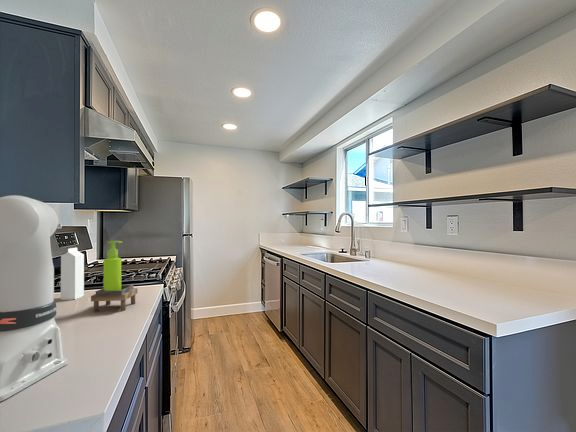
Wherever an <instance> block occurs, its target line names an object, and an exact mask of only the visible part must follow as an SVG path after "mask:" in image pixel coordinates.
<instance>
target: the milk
mask: <svg viewBox="0 0 576 432" xmlns="http://www.w3.org/2000/svg"><path fill="white" fill-rule="evenodd" d="M84 290H85V254H84V253H82V252H80V251H79V250H78V247H70V248H68V249H67V252H66V253H64V254H63V255H60V300H61V301H72V300H73V299H75V300H77V298H78V299H80V298H83V297H84V296H85V291H84ZM82 296H83V297H82Z"/></svg>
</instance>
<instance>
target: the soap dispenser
mask: <svg viewBox="0 0 576 432" xmlns="http://www.w3.org/2000/svg"><path fill="white" fill-rule="evenodd" d="M107 243H108V244H109V249H107V258H104V259H103V288H104V291H120V290H121V285H122V257H119V249H118V248H116V244H123V243H124V242H123V241H121V240H109V241H107Z"/></svg>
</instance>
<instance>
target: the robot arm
mask: <svg viewBox="0 0 576 432" xmlns="http://www.w3.org/2000/svg"><path fill="white" fill-rule="evenodd" d="M62 226H63V225H62V223H59V217H58V215H57V213H56V211H55V209H54V208H53V207H52V206H51V205H49V204H48V203H46V202H44V201H41V200H38V199H34V198H31V197H28V196H23V195H18V194H17V195H13V194H12V195H5V196H1V197H0V402H3V401H5V400H8V398H11V397H12V396H14V395H16V394H18V393H19V392H21V391H23V390H24V389H26V388H28V387H30V386H31V385H33V384H35V383H37V382H38V381H40V380H42V379H43V378H45V377H47V376H49V375H51V374H52V373H54V372H56V371H57V370H60V369H61V368H62V367H64V366H66V365H68V358H67V357H65V356H64V355H63V354H64V353H63V345H62V336H61V335H62V334H61V329H60V327H59V325H58V324H57V322H56V320H55V316H56V315H57V309H58V307H57V301H56V300H55V267H54V266H55V265H54V263H53V256H52V248H51V247H52V245H51V236H52V235H53V234H54V233H55V232H56V231H57V229H62Z"/></svg>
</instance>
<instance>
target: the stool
mask: <svg viewBox="0 0 576 432" xmlns="http://www.w3.org/2000/svg"><path fill="white" fill-rule="evenodd" d="M137 294H138V288H137V287H136V288H134V284H121V290H120V291H104V287H103V288H101V289H98V290H96V291H95V294H93V295H90V302H93V312H94V311H95V312H94V313H97V312H99V309H100V308H99V306H100V305H99V304H100V302H105V306H110V305H111V303H112V302H113V301H114V302H115V301H116V302H117V301H120V312H125V311H126V305H127V304H126V300H128V299H130V304H131V305H135V304H136V295H137ZM96 311H97V312H96Z"/></svg>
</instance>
